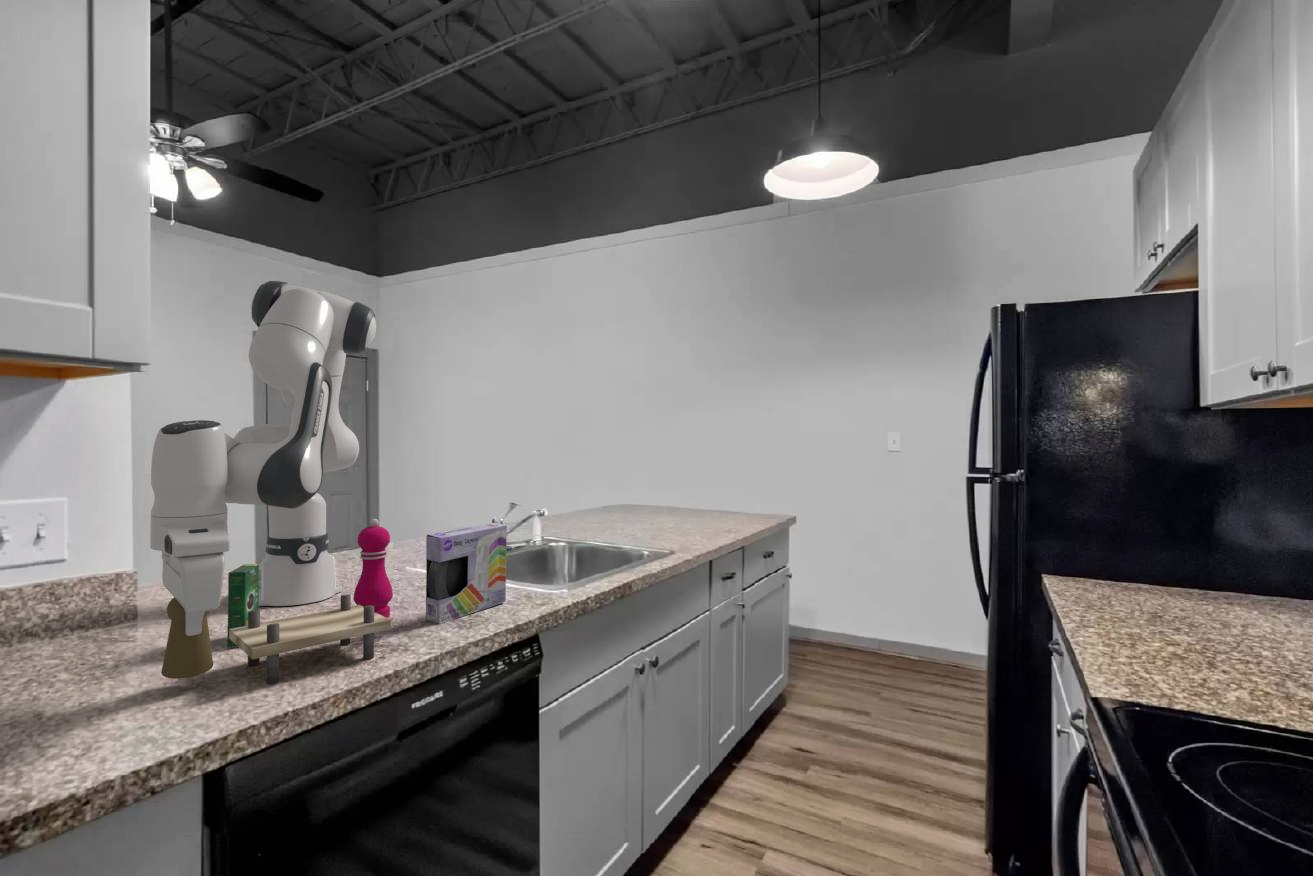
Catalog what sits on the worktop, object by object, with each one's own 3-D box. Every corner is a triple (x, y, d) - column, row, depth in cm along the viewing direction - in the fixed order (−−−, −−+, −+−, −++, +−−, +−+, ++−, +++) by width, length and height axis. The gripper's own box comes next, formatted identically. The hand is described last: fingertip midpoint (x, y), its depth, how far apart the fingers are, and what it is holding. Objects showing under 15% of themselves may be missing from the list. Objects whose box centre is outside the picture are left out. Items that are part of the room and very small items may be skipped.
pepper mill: (377, 623, 121) (378, 521, 121) (345, 621, 123) (346, 520, 122) (400, 613, 128) (400, 517, 128) (369, 611, 130) (369, 515, 130)
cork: (182, 657, 93) (184, 586, 92) (222, 661, 93) (225, 590, 92) (150, 676, 87) (152, 601, 86) (193, 680, 87) (196, 605, 86)
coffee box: (241, 634, 114) (242, 563, 114) (259, 632, 115) (260, 562, 115) (225, 648, 106) (226, 572, 106) (244, 647, 107) (245, 571, 107)
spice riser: (229, 666, 98) (229, 613, 98) (359, 637, 113) (359, 591, 113) (252, 690, 89) (252, 631, 89) (390, 655, 104) (390, 605, 104)
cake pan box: (435, 626, 120) (436, 535, 120) (419, 622, 123) (420, 533, 123) (508, 604, 136) (509, 523, 136) (491, 600, 139) (492, 522, 139)
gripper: (150, 526, 94) (149, 617, 94) (175, 546, 80) (174, 653, 80) (201, 522, 98) (200, 608, 99) (233, 541, 84) (232, 642, 84)
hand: (188, 629), depth 89 cm, fingers closed on cork, 4 cm apart
